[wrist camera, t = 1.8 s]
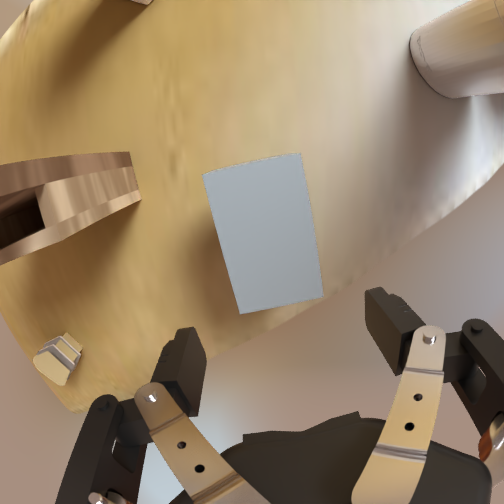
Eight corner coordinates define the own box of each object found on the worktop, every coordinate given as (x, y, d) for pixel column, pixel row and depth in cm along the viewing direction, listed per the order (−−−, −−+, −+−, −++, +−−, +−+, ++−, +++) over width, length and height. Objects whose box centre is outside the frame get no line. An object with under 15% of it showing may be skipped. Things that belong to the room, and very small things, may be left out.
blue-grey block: (280, 153, 24) (300, 153, 14) (299, 253, 27) (324, 306, 17) (220, 166, 24) (202, 174, 15) (245, 265, 27) (243, 324, 18)
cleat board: (129, 151, 23) (-58, 179, 4) (141, 199, 25) (-25, 298, 6) (46, 189, 24) (-96, 248, 5) (57, 229, 26) (-73, 314, 7)
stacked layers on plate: (56, 308, 30) (35, 329, 25) (102, 351, 32) (87, 377, 27) (39, 339, 32) (22, 359, 27) (79, 376, 34) (65, 399, 29)
